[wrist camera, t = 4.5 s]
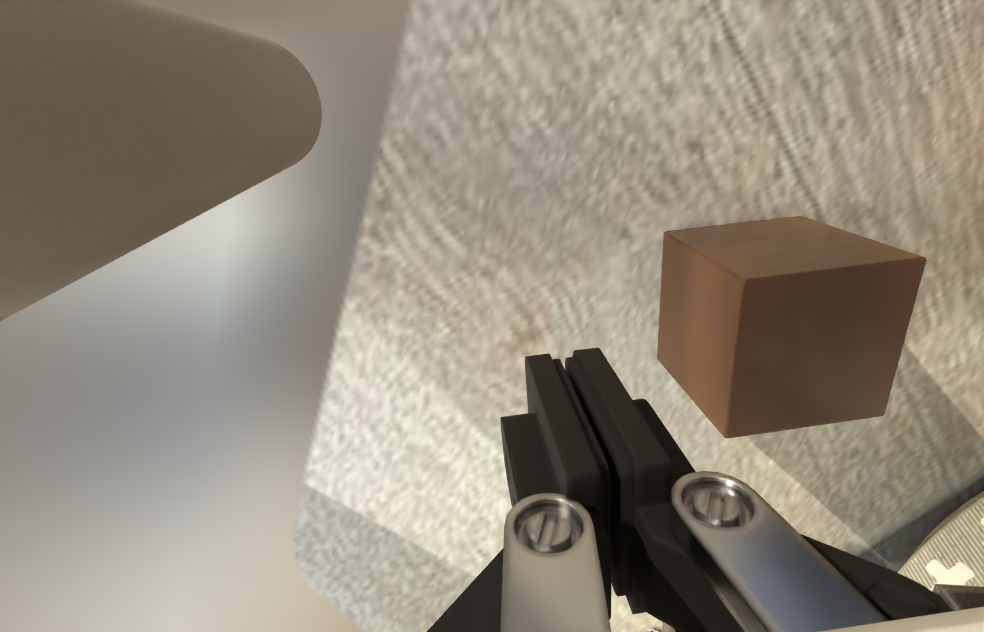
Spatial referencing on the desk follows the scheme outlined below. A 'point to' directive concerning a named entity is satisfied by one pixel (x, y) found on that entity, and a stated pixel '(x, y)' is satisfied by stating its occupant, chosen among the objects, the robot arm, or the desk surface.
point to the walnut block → (784, 322)
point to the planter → (952, 549)
